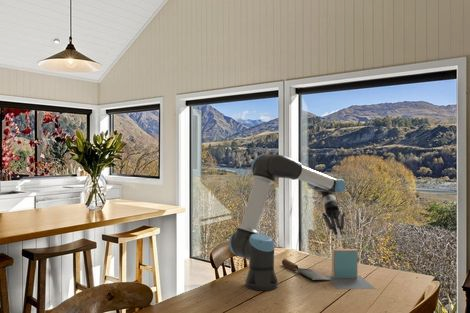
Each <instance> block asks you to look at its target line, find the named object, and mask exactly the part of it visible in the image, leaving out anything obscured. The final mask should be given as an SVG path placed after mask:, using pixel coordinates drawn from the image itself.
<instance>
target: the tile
mask: <svg viewBox="0 0 470 313" xmlns="http://www.w3.org/2000/svg"><path fill="white" fill-rule="evenodd" d="M358 254H359V253H358V249H357V248H331V276H332V277H333V278H357V276H358Z"/></svg>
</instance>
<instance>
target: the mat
mask: <svg viewBox="0 0 470 313" xmlns="http://www.w3.org/2000/svg"><path fill="white" fill-rule="evenodd" d="M325 276H326V277H327V278H329V279H331V280H328V281H329V282H330V283H331V285H333V287H334V288H335V289H336V290H376V288H375V287H374V286H373V285H372V284H371V283H370V282H368V281H367V280H366V279H365V278H364V277H363V276H361V275H357V278H333V277H332V275H325Z"/></svg>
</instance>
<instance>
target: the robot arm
mask: <svg viewBox="0 0 470 313" xmlns="http://www.w3.org/2000/svg"><path fill="white" fill-rule="evenodd" d="M250 167H251V168H250V169H251V172H252V179H253V183H252V187H251V191H250V195H249V198H248V201H247V204H246V206H245V207H246V208H245V210H244V214H243V218H242V221H241V224H240V225H239V226H237V228H236V230H235V232H233V233H232V234H231V235H230V237H229V239H228V248H229V250H230V252H231V253H232V254H233V255H235V256H236V257H239V258H242V259H245V260H249V267H248V268H249V269H248V273H247V274H246V278H245V287H246V288H247V289H250V290H253V291H260V292H261V291H262V292H263V291H271V290H275V289H276V288H278V285H279V284H278V279H277V276H276V272H275V240H274V238H273V237H271V236H270V235H267V234H265V233H264V234H263V233H259V231H258V229H259V225H260V223H261V218H262V217H263V216H262V215H263V212H264V209H265V205H266V201H267V197H268V194H269V192H270V191H269V190H270V187H271V185H273V184H274V183H275V180H276V179H278V178H281V179H289V180H293V181H296V180H299V181H301V182H304V183H307V185H308V187H309V188H310V189H312V190H314V191H315V192H317V193H318V194H319V195H321V197H322V202H323V206H324V207H323V208H324V210H325V212H324V213H322V214H321V218H323V219H324V221H325V223H326V225H327V227H328V229H329V230H330V231H333V234H334V236H336V239H337V242H341V241H342V238H343V237H342V235H343V232H342V230H343V229H344V227H345V215H346V213H345V212H341V210H340V209H339V208H340V207H339V205H338V201H337V198H336V194H338V193H339V194H340V193H343V192H344V191H345V190H346V187H347V185H346V184H347V183H346V181H345V180H344V179H341V178H335V177H333V176H330V175H327V174H325V173H322V172H319V171H317V170H314V169H312V168H311V167H307V166H305V165H303V164H302V163H301V161H298V160H295V159H292V158H291V157H288V156H286V155H283V154H261V155H257V156H256V157H255V158H254V159H253V160H252V163H251V166H250ZM335 193H336V194H335ZM339 217H340V220H339Z"/></svg>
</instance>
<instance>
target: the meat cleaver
mask: <svg viewBox="0 0 470 313" xmlns="http://www.w3.org/2000/svg"><path fill="white" fill-rule="evenodd" d="M281 264H282V266H285V267H286V268H287V269H289V270H291V271H293V272H298V273H300V274H302V275H304V276H305V277H307V278H309V279H310V280H312V281H329V280H331V279H329V278H327V277H326V276H327V275H323V274H321V273H319V272H317V271H316V270H314V269H310V268H301V267H299V265H298V264H295V263H294V262H291V261H290V260H288V259H287V258H284V259H282V260H281Z"/></svg>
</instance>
